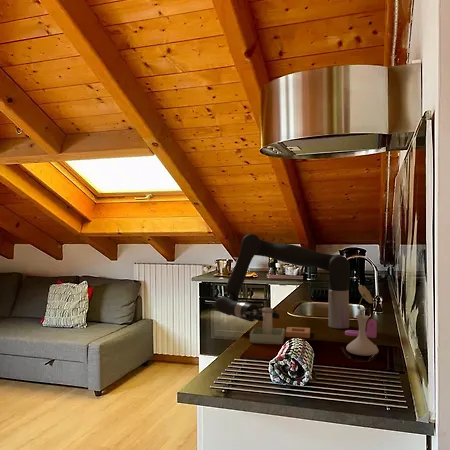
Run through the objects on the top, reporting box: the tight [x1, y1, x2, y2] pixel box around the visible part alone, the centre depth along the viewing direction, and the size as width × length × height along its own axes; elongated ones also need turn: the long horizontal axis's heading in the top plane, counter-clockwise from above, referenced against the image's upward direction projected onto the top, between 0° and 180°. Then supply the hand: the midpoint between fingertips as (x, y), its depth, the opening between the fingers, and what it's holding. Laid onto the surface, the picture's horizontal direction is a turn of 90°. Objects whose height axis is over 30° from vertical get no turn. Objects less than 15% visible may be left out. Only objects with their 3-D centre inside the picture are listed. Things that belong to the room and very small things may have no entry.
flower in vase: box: [345, 284, 379, 357], centre depth 167 cm, size 13×11×25 cm
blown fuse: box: [261, 307, 273, 335], centre depth 187 cm, size 4×4×12 cm
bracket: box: [344, 318, 378, 339], centre depth 195 cm, size 13×6×7 cm, turn 69°
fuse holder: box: [285, 326, 311, 339], centre depth 196 cm, size 10×10×2 cm
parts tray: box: [249, 326, 286, 345], centre depth 186 cm, size 13×13×4 cm
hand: (270, 317), depth 185 cm, fingers open, 8 cm apart
